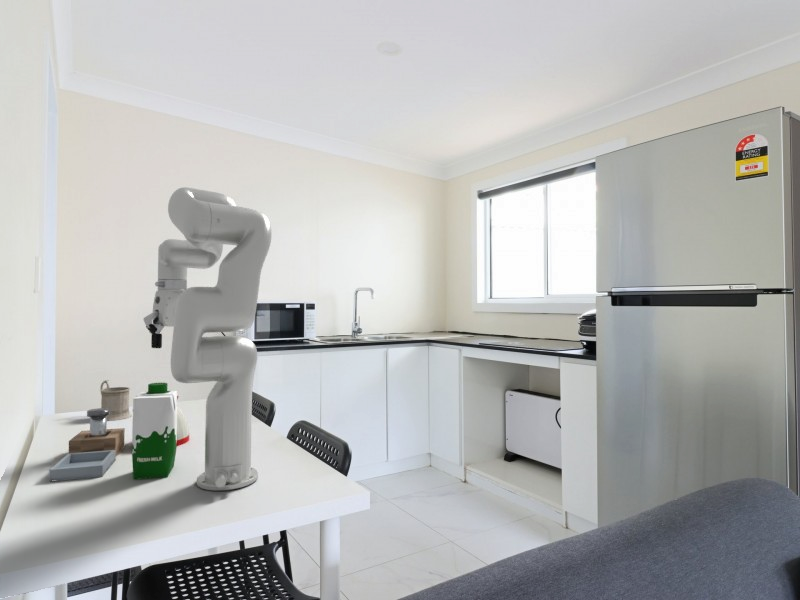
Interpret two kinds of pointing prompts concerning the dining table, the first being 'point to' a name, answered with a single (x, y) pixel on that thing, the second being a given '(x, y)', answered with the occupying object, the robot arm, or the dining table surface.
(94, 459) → the tray
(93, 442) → the socket block
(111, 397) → the mug
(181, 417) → the kitchen timer
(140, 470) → the milk carton
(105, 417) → the pin
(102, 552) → the dining table surface
